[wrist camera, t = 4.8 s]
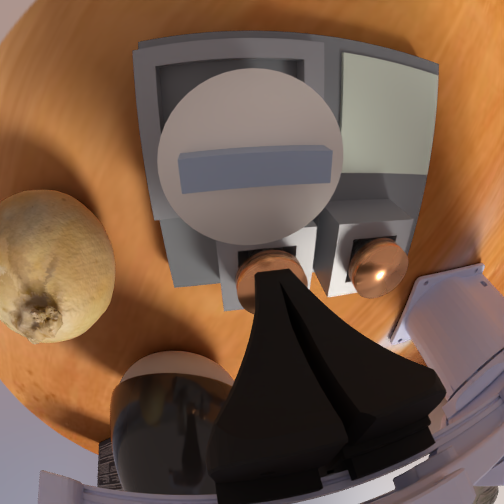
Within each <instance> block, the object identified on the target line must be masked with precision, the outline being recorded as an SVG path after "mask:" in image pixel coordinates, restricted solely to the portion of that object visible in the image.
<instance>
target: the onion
mask: <svg viewBox="0 0 504 504" xmlns="http://www.w3.org/2000/svg"><path fill="white" fill-rule="evenodd" d="M114 283H115V259H114V253H113V248H112V245H111V242H110V240H109V238H108V235H107V233H106V231H105V229H104V227H103V225H102V224H101V222H100V221H99V220H98V218H97V217H96V216H95V215H94V214H93V213H92V212H91V211H90V210H89V209H88V208H87V207H85V205H83V204H82V203H80V202H79V201H78V200H77V199H75V198H73V197H72V196H70V195H68V194H65V193H61V192H59V191H56V190H29V191H27V190H26V191H23V192H20V193H17V194H15V195H12V196H10V197H8V198H6V199H4V200H3V201H1V202H0V320H1V321H2V322H3V323H4V324H5V325H6V326H7V327H9V328H10V329H11V330H13V331H15V332H16V333H18V334H20V335H22V336H24V337H27V339H28V340H29V341H30V342H31V343H33V344H39V342H41V343H54V342H61V341H66V340H70V339H73V338H75V337H77V336H79V335H81V334H83V333H84V332H86V331H87V330H88V329H89V328H90V327H91V326H92V325H93V324H94V323H95V322H96V321H97V320H98V319H99V317H100V316H101V315H102V314H103V313H104V312H105V311H106V309H107V307H108V306H109V304H110V301H111V298H112V294H113V289H114Z"/></svg>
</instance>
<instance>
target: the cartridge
mask: <svg viewBox="0 0 504 504" xmlns="http://www.w3.org/2000/svg"><path fill="white" fill-rule="evenodd" d="M157 164H158V174H159V179H160V183H161V186H162V189H163V191H164V194H165V196H166V198H167V200H168V202H169V204H170V205H171V207H172V208H173V209H174V211H175V212H176V213H177V215H178V216H179V217H180V218H181V219H182V220H183V221H184V222H185V223H187V224H188V225H189V226H190V227H192V228H193V229H194V230H196V231H198V232H199V233H201V234H203V235H205V236H207V237H209V238H211V239H214V240H217V241H220V242H224V243H229V244H235V245H258V244H264V243H269V242H273V241H277V240H280V239H282V238H285V237H287V236H289V235H291V234H293V233H295V232H297V231H299V230H300V229H302V228H303V227H304V226H306V225H307V224H308V223H310V222H311V221H312V220H313V219H314V218H315V217H316V216H317V215H318V214H319V213H320V212H321V211H322V210H323V209H324V207H325V206H326V205H327V203H328V202H329V200H330V199H331V197H332V195H333V193H334V192H335V189H336V187H337V184H338V182H339V179H340V175H341V171H342V165H343V142H342V136H341V132H340V128H339V126H338V123H337V121H336V118H335V116H334V114H333V113H332V111H331V109H330V108H329V106H328V105H327V104H326V102H325V101H324V100H323V99H322V97H321V96H320V95H319V94H318V93H317V92H315V91H314V90H313V89H312V88H311V87H309V86H308V85H307V84H305V83H304V82H302V81H300V80H298V79H296V78H294V77H293V76H290V75H288V74H285V73H282V72H279V71H274V70H269V69H260V68H247V69H237V70H233V71H229V72H225V73H222V74H219V75H217V76H214V77H212V78H210V79H208V80H206V81H204V82H203V83H201V84H199V85H198V86H197V87H195V88H194V89H193V90H191V91H190V92H189V93H188V94H187V95H186V96H185V97H184V98H183V99H182V100H181V101H180V102H179V103H178V104H177V106H176V107H175V108H174V110H173V111H172V112H171V114H170V116H169V118H168V120H167V122H166V123H165V126H164V129H163V131H162V134H161V137H160V142H159V146H158V157H157Z"/></svg>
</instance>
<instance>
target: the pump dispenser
mask: <svg viewBox="0 0 504 504" xmlns="http://www.w3.org/2000/svg"><path fill="white" fill-rule="evenodd" d="M233 383H234V380H233V379H232V378H231V376H230V375H229V374H228V373H227V372H226V370H224V369H223V368H222V367H221V366H220V365H218V364H217V363H216V362H214V361H212V360H211V359H208V358H206V357H204V356H201V355H198V354H195V353H191V352H185V351H163V352H157V353H154V354H150V355H148V356H146V357H143V358H141V359H140V360H138V361H137V362H135V363H134V364H133V365H132V366H131V367H130V368H129V369H128V370H127V371H126V373H125V374H124V376H123V377H122V379H121V381H120V383H119V384H118V385H117V386H116V387H115V389H114V390H113V392H112V396H111V403H110V432H111V444H112V451H113V457H114V462H115V466H116V470H117V473H118V477H119V480H120V483H121V486H122V488H123V491H127V492H136V493H147V494H162V495H211V494H216V487H215V481H214V480H213V479H212V478H211V477H210V476H209V475H208V471H207V464H206V450H207V445H208V441H209V438H210V434H211V431H212V428H213V424H214V421H215V419H216V417H217V415H218V413H219V412H220V410H221V408H222V406H223V404H224V402H225V401H226V399H227V397H228V394H229V392H230V390H231V388H232V386H233Z"/></svg>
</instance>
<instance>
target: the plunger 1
mask: <svg viewBox="0 0 504 504" xmlns="http://www.w3.org/2000/svg"><path fill="white" fill-rule="evenodd" d="M248 255H249V258H248V259H247V260H245V261H244V262H243V263H242V264H241V266H240V267H239V269H238V271H237V274H236V278H235V283H236V289H237V295H238V300H239V302H240V304H241V306H242V307H243V308H244V309H245V310H247V311H248V312H250V313H252V314H255V279H254V275H255V274H256V273H257V272H263V271H271V270H280V269H288V268H289V269H290V270H291V271H292V272H293V273H294V274H295V275H296V276H297V277H298V278H299V279H300V280H301V282H302V283H303V284H304V285H305V286H306V287H308V281H307V277H306V275H305V272H304V270H303V268H302V266H301V264H300V262H299V261H298V259H297V258H296V257H295V256H294V255H292V254H290V253H288V252H286V251H282V250H274V248H267V249H257V250H248Z"/></svg>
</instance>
